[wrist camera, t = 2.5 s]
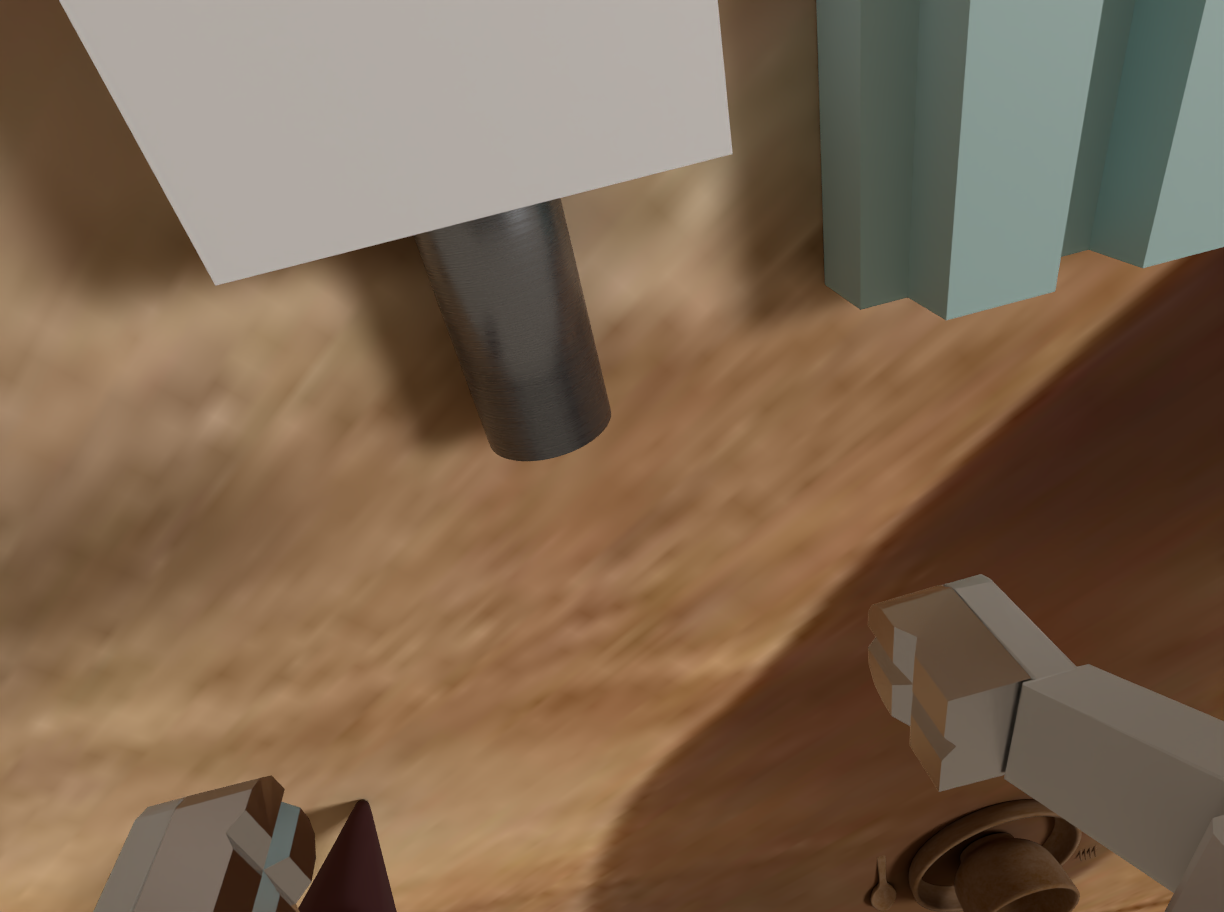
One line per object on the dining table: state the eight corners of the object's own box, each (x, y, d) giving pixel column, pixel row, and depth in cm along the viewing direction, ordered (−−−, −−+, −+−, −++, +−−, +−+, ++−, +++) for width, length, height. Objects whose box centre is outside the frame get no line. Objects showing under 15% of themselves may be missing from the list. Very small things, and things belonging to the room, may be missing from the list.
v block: (810, -200, 16) (913, -275, 12) (1285, -314, 16) (1529, -422, 12) (825, 284, 22) (894, 333, 19) (1163, 195, 23) (1299, 226, 19)
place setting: (1119, 755, 44) (1200, 846, 39) (1072, 895, 55) (1131, 980, 50) (863, 832, 43) (912, 933, 39) (867, 957, 54) (906, 1049, 49)
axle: (306, -107, 15) (255, -147, 12) (475, -147, 16) (470, -199, 12) (488, 411, 23) (488, 474, 20) (601, 381, 23) (620, 440, 20)
